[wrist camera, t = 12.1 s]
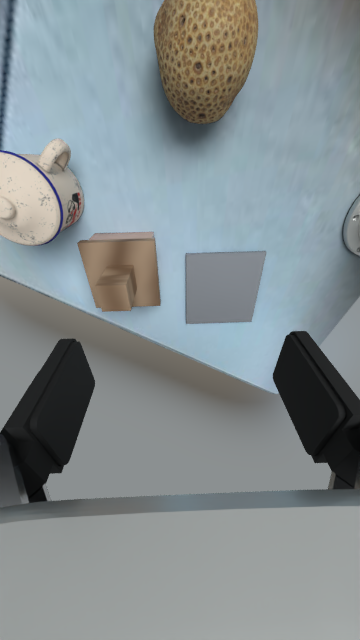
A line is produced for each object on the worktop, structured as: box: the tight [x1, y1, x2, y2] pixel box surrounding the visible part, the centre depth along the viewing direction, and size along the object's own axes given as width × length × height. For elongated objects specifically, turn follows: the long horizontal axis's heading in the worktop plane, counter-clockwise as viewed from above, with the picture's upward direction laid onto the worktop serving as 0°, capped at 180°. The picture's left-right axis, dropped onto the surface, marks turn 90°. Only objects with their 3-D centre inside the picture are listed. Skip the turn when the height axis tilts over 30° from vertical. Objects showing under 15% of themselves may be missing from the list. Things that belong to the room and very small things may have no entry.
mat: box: [186, 251, 266, 324], centre depth 40 cm, size 13×14×1 cm
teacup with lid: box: [0, 139, 84, 246], centre depth 25 cm, size 12×9×12 cm
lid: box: [77, 238, 161, 312], centre depth 30 cm, size 10×10×7 cm
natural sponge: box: [154, 0, 258, 124], centre depth 20 cm, size 9×9×10 cm
